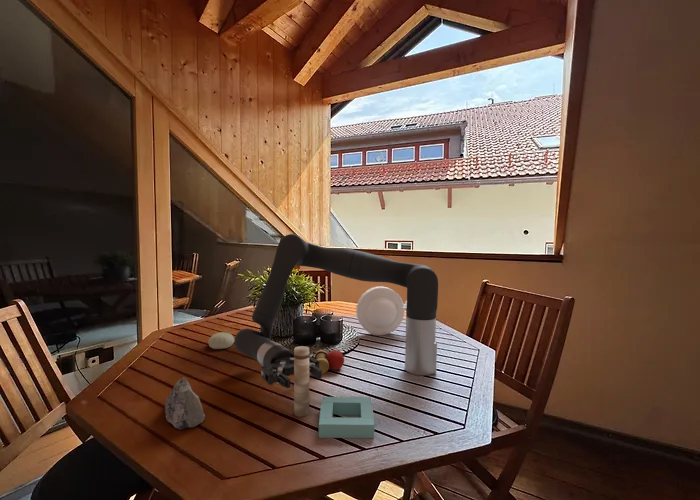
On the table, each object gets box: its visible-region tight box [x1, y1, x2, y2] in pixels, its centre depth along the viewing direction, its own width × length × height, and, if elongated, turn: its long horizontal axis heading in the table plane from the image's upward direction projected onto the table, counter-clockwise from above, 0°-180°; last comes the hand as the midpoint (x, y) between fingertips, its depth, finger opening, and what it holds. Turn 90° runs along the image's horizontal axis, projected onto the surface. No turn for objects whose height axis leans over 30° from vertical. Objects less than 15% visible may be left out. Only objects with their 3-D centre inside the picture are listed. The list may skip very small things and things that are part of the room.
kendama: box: [314, 349, 345, 374], centre depth 112 cm, size 8×6×18 cm
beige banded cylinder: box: [293, 345, 310, 417], centre depth 86 cm, size 4×4×16 cm
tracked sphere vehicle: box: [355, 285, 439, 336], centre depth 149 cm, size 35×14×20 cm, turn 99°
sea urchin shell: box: [207, 331, 235, 350], centre depth 132 cm, size 9×8×8 cm
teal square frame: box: [318, 396, 375, 439], centre depth 83 cm, size 12×12×3 cm
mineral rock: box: [164, 376, 206, 431], centre depth 85 cm, size 13×11×10 cm
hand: (305, 379), depth 85 cm, fingers open, 8 cm apart
